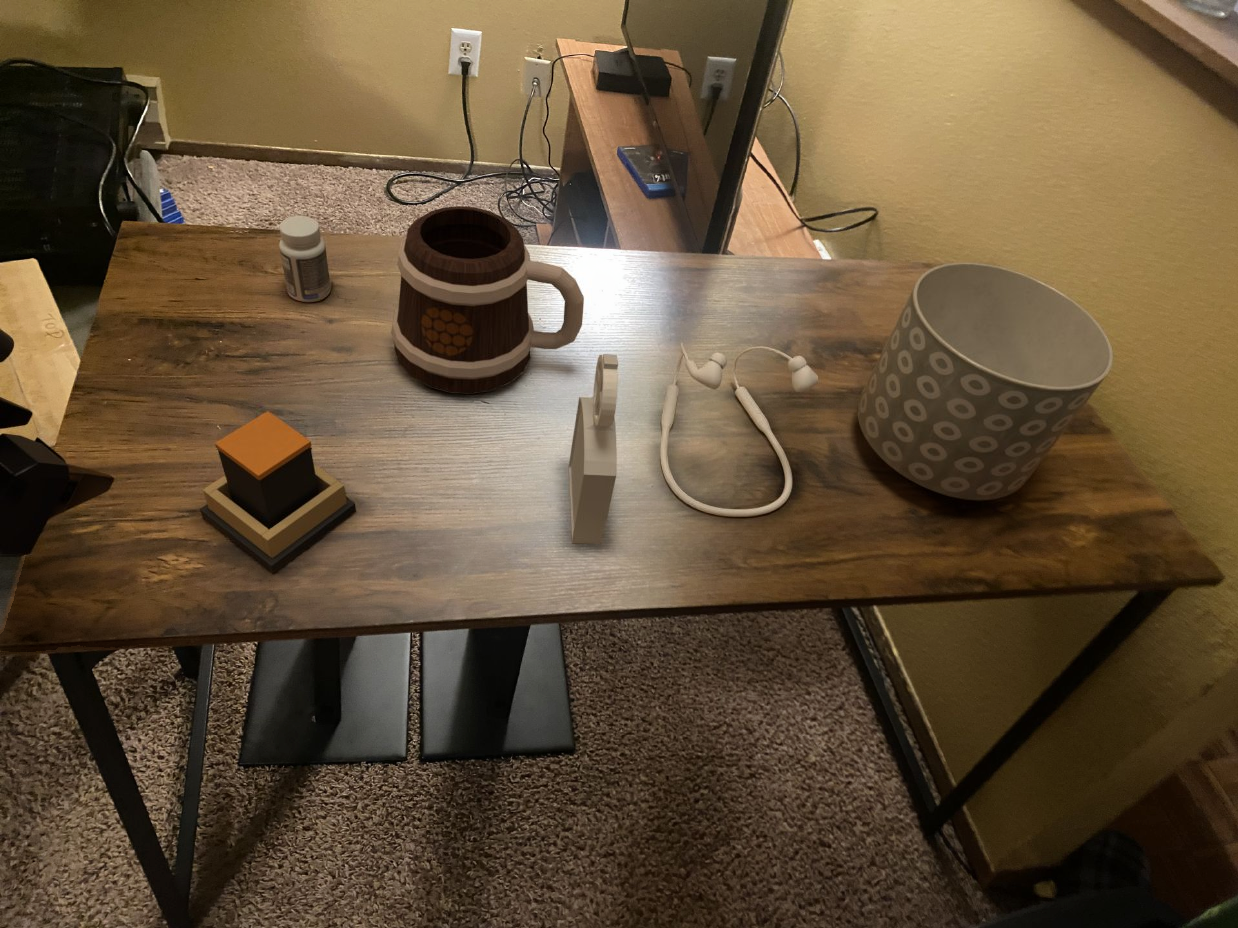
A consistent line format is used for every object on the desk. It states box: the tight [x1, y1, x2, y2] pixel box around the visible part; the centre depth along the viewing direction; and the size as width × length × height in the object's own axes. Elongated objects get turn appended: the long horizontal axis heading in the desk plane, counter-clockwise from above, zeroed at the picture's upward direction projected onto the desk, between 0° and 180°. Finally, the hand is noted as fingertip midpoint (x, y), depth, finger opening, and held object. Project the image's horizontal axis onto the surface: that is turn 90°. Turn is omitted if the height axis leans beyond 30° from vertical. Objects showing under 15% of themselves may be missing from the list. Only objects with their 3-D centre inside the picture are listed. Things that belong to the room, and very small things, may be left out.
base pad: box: [199, 463, 357, 575], centre depth 72 cm, size 9×9×4 cm
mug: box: [390, 205, 585, 395], centre depth 86 cm, size 20×15×15 cm
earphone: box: [659, 342, 819, 518], centre depth 85 cm, size 14×17×18 cm
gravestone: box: [568, 353, 619, 545], centre depth 73 cm, size 3×9×18 cm, turn 5°
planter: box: [856, 261, 1114, 501], centre depth 85 cm, size 19×19×18 cm
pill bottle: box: [278, 215, 332, 303], centre depth 92 cm, size 5×5×8 cm
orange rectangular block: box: [214, 410, 319, 530], centre depth 69 cm, size 5×5×8 cm
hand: (68, 449), depth 58 cm, fingers open, 9 cm apart
